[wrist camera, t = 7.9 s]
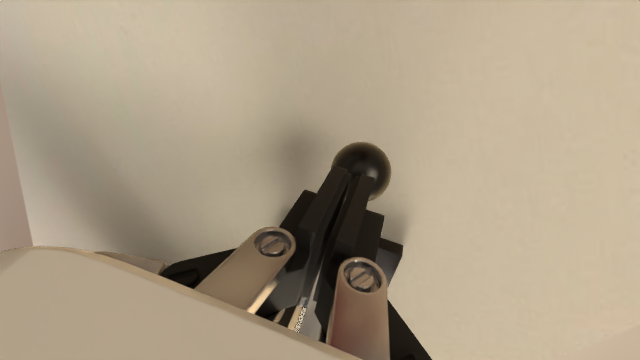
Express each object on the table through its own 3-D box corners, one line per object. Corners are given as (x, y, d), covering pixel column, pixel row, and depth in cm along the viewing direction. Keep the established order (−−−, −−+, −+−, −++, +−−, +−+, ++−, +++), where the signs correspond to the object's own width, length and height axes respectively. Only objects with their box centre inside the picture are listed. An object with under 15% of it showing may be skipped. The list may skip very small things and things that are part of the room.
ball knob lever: (343, 138, 18) (337, 131, 15) (397, 153, 17) (402, 150, 14) (264, 395, 19) (242, 440, 16) (311, 417, 19) (298, 467, 15)
